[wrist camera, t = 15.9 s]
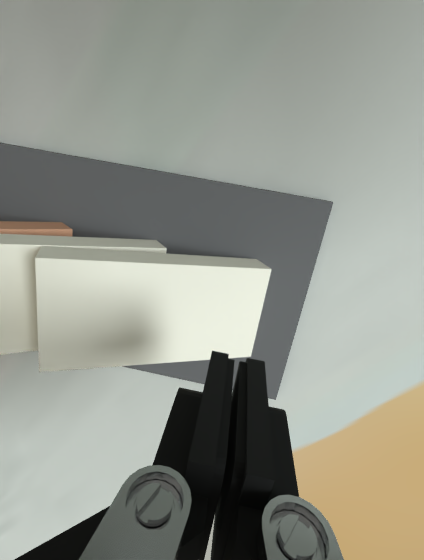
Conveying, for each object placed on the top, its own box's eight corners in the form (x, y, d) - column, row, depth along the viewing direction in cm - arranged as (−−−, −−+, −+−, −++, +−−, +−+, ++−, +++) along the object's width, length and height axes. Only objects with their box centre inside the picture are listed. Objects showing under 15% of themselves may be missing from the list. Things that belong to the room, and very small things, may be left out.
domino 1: (166, 248, 15) (-116, 240, 10) (156, 335, 17) (-91, 366, 12) (156, 239, 16) (-99, 229, 11) (147, 321, 18) (-79, 344, 13)
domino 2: (271, 269, 15) (35, 257, 11) (250, 356, 16) (39, 372, 13) (256, 259, 16) (41, 245, 12) (238, 340, 18) (44, 350, 14)
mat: (331, 201, 15) (333, 202, 15) (275, 395, 19) (275, 399, 19) (-211, 105, 17) (-222, 103, 17) (-159, 301, 21) (-167, 303, 20)
